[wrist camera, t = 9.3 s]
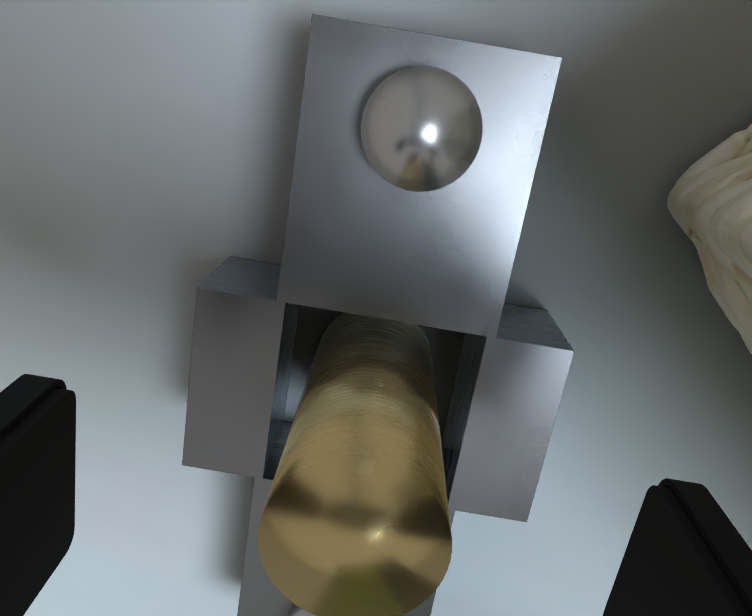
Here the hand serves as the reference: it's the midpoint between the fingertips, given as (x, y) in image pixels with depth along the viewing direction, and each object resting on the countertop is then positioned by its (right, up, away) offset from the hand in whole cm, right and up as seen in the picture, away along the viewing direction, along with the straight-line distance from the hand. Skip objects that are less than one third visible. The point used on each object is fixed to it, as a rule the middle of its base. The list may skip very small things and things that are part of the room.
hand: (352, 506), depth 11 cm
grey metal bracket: (0, +2, +8) cm, 8 cm away
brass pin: (0, +2, +8) cm, 8 cm away
